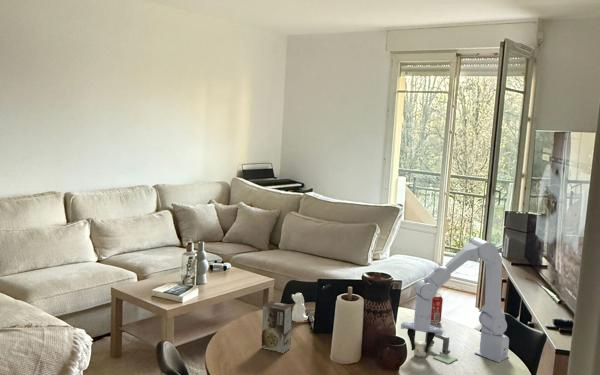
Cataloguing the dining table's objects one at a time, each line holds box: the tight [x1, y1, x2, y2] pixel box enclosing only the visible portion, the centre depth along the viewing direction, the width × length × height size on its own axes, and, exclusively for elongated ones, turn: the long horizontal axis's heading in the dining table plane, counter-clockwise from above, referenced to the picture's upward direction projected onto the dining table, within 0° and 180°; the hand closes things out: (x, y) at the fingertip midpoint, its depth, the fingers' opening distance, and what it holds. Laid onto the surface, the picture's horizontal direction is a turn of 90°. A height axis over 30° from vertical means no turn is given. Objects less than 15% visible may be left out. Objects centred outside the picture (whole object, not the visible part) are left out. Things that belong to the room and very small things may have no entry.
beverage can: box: [430, 292, 444, 325], centre depth 233 cm, size 6×6×12 cm
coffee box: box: [261, 300, 293, 353], centre depth 197 cm, size 9×6×16 cm
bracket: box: [424, 332, 451, 355], centre depth 205 cm, size 9×4×6 cm, turn 44°
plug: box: [413, 339, 435, 357], centre depth 200 cm, size 4×12×4 cm, turn 138°
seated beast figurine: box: [291, 292, 309, 322], centre depth 226 cm, size 10×9×12 cm
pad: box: [433, 353, 458, 365], centre depth 197 cm, size 6×6×1 cm
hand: (419, 350), depth 198 cm, fingers closed on plug, 4 cm apart
